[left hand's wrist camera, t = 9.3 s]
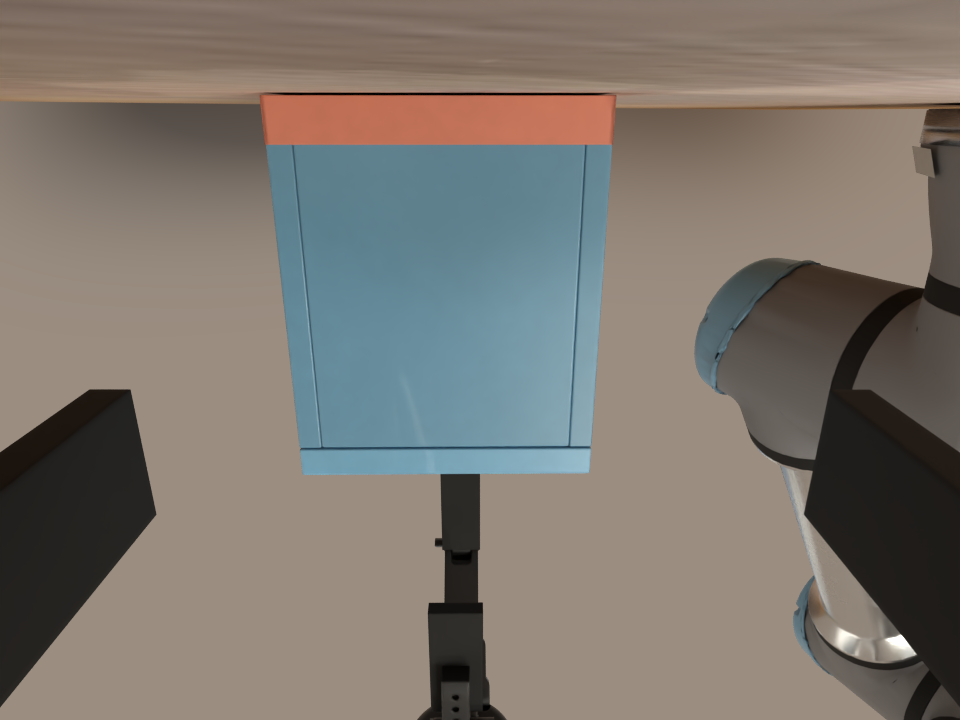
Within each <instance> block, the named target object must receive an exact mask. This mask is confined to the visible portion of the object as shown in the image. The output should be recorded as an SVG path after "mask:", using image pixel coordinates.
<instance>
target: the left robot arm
mask: <svg viewBox="0 0 960 720" xmlns="http://www.w3.org/2000/svg"><path fill="white" fill-rule="evenodd" d="M155 516H156V511H155V506H154V501H153V496H152V491H151V486H150V481H149V477H148V472H147V467H146V462H145V457H144V452H143V448H142V443H141V438H140V433H139V428H138V424H137V419H136V414H135V409H134V404H133V400H132V395H131V390H88V391H87V392H85V393H84V394H83V395H81V396H80V397H78V398H77V399H75V400H74V401H73V402H71V403H70V404H68V405H67V406H65V407H64V408H63V409H61V410H60V411H58V412H57V413H56V414H54V415H53V416H51V417H50V418H48V419H47V420H46V421H44V422H43V423H41V424H40V425H38V426H37V427H36V428H34V429H33V430H31V431H30V432H29V433H27V434H26V435H24V436H23V437H21V438H20V439H19V440H17V441H16V442H14V443H13V444H11V445H10V446H9V447H7V448H6V449H4V450H3V451H2V452H0V707H1V706H2V704H3V703H4V702H5V701H6V700H7V698H8V697H9V696H10V695H11V693H12V692H13V691H14V690H15V688H16V687H17V686H18V685H19V683H20V682H21V681H22V680H23V678H24V677H25V676H26V675H27V674H28V672H29V671H30V670H31V669H32V667H33V666H34V665H35V664H36V662H37V661H38V660H39V659H40V658H41V656H42V655H43V654H44V653H45V651H46V650H47V649H48V648H49V646H50V645H51V644H52V643H53V641H54V640H55V639H56V638H57V636H58V635H59V634H60V633H61V632H62V630H63V629H64V628H65V627H66V625H67V624H68V623H69V622H70V620H71V619H72V618H73V617H74V615H75V614H76V613H77V612H78V611H79V609H80V608H81V607H82V606H83V604H84V603H85V602H86V601H87V599H88V598H89V597H90V596H91V595H92V593H93V592H94V591H95V590H96V588H97V587H98V586H99V585H100V583H101V582H102V581H103V580H104V578H105V577H106V576H107V575H108V574H109V572H110V571H111V570H112V569H113V567H114V566H115V565H116V564H117V562H118V561H119V560H120V559H121V557H122V556H123V555H124V554H125V553H126V551H127V550H128V549H129V548H130V546H131V545H132V544H133V543H134V542H135V540H136V539H137V538H138V537H139V535H140V534H141V533H142V532H143V530H144V529H145V528H146V527H147V525H148V524H149V523H150V522H151V520H152V519H153V518H154V517H155ZM804 516H805V517H806V518H807V519H808V521H809V522H810V523H811V524H812V525H813V527H814V528H815V529H816V530H817V532H818V533H819V534H820V535H821V537H822V538H823V539H824V540H825V542H826V543H827V544H828V545H829V546H830V548H831V549H832V550H833V551H834V553H835V554H836V555H837V556H838V558H839V559H840V560H841V561H842V562H843V564H844V565H845V566H846V567H847V569H848V570H849V571H850V572H851V574H852V575H853V576H854V577H855V579H856V580H857V581H858V582H859V583H860V585H861V586H862V587H863V588H864V590H865V591H866V592H867V593H868V595H869V596H870V597H871V598H872V600H873V601H874V602H875V603H876V604H877V606H878V607H879V608H880V609H881V611H882V612H883V613H884V614H885V616H886V617H887V618H888V619H889V621H890V622H891V623H892V624H893V625H894V627H895V628H896V629H897V630H898V632H899V633H900V634H901V635H902V637H903V638H904V639H905V640H906V641H907V643H908V644H909V645H910V646H911V648H912V649H913V650H914V651H915V653H916V654H917V655H918V656H919V658H920V659H921V660H922V661H923V662H924V664H925V665H926V666H927V667H928V669H929V670H930V671H931V672H932V674H933V675H934V676H935V677H936V679H937V680H938V681H939V682H940V683H941V685H942V686H943V687H944V688H945V690H946V691H947V692H948V693H949V695H950V696H951V697H952V698H953V700H954V701H955V702H956V703H957V704H958V706H959V707H960V452H959V451H957V450H956V449H954V448H953V447H951V446H950V445H949V444H947V443H946V442H944V441H943V440H941V439H940V438H939V437H937V436H936V435H934V434H933V433H931V432H930V431H929V430H927V429H926V428H924V427H923V426H922V425H920V424H919V423H917V422H916V421H914V420H913V419H912V418H910V417H909V416H907V415H906V414H904V413H903V412H902V411H900V410H899V409H897V408H896V407H895V406H893V405H892V404H890V403H889V402H887V401H886V400H885V399H883V398H882V397H880V396H879V395H877V394H876V393H875V392H873V391H872V390H829V395H828V400H827V404H826V409H825V414H824V419H823V424H822V428H821V433H820V438H819V443H818V448H817V452H816V457H815V462H814V467H813V472H812V477H811V481H810V486H809V491H808V496H807V501H806V505H805V510H804Z"/></svg>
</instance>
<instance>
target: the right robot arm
mask: <svg viewBox="0 0 960 720" xmlns="http://www.w3.org/2000/svg"><path fill="white" fill-rule="evenodd" d="M920 143H921V147H915V146H912V148H913V154H914V161H915V168H916V172H917V173H920V174H923V175H926V176H928V199H929V216H930V228H931V238H932V259H931V264H930V269H929V273H928V277H927V281H926V285H925V289H923V288H918V287H914V286H909V285H905V284H900V283H895V282H891V281H886V280H882V279H878V278H874V277H869V276H865V275H861V274H857V273H852V272H848V271H844V270H840V269H836V268H831V267H827V266H823V265H821V264H820V263H816V262H814V261H811V260H807V261H797V260H790V259H783V258H768V259H763V260H760V261H757V262H754V263H752V264H750V265H748V266H746V267H744V268H743V269H741V270H740V271H738V272H737V273H736V274H735V275H733V276H732V277H731V278H730V279H729V280H728V281H727V282H726V283H725V284H724V285H723V286H722V287H721V288H720V290H719V291H718V292H717V294H716V295H715V296H714V298H713V299H712V301H711V302H710V304H709V306H708V307H707V310H706V314H705V316H704V318H703V320H702V322H701V323H700V325H699V328H698V332H697V336H696V341H695V363H696V367H697V370H698V372H699V375H700V376H701V378H702V379H703V380H704V381H705V382H706V383H707V384H708V385H710V386H711V387H712V388H713V389H714V390H715V391H716V392H717V393H720V394H724V395H729V396H731V397H732V398H734V399H735V400H736V402H737V403H738V404H739V406H740V408H741V411H742V414H743V417H744V420H745V423H746V426H747V429H748V432H749V434H750V437H751V439H752V441H753V443H754V444H755V446H756V447H757V449H758V450H759V451H760V452H761V453H762V454H763V455H764V456H765V457H767V458H768V459H770V460H771V461H773V462H774V463H776V464H778V465H780V467H781V470H782V473H783V477H784V480H785V483H786V486H787V490H788V493H789V496H790V499H791V502H792V505H793V509H794V512H795V515H796V518H797V522H798V525H799V528H800V531H801V535H802V538H803V541H804V544H805V547H806V550H807V554H808V557H809V560H810V563H811V567H812V570H813V573H814V576H813V577H812V578H811V579H810V580H809V581H808V582H807V584H806V585H805V587H804V588H803V590H802V592H801V593H800V595H799V598H798V600H797V603H796V604H797V605H798V607H799V608H798V610H796V611H795V612H794V617H793V626H794V632H795V636H796V638H797V641H798V642H799V644H800V646H801V647H802V648H803V650H804V651H805V652H806V653H807V654H808V655H809V656H810V657H811V658H812V659H813V661H814V662H815V663H816V664H817V665H818V666H820V667H821V668H822V669H823V670H824V671H825V672H827V673H828V674H830V675H832V676H834V677H835V678H836V679H837V680H839V681H840V682H841V683H842V684H844V685H845V686H846V687H847V688H849V689H850V690H851V691H852V692H853V693H855V694H856V695H857V696H858V697H860V698H861V699H862V700H863V701H865V702H866V703H867V704H868V705H869V706H871V707H872V708H873V709H874V710H876V711H877V712H878V713H879V714H881V715H882V716H883V717H884V718H885V719H887V720H960V707H959V706H958V704H957V703H956V702H955V701H954V700H953V698H952V697H951V696H950V695H949V693H948V692H947V691H946V690H945V688H944V687H943V686H942V685H941V683H940V682H939V681H938V680H937V679H936V677H935V676H934V675H933V674H932V672H931V671H930V670H929V669H928V667H927V666H926V665H925V664H924V662H923V661H922V660H921V659H920V658H919V656H918V655H917V654H916V653H915V651H914V650H913V649H912V648H911V646H910V645H909V644H908V643H907V641H906V640H905V639H904V638H903V637H902V635H901V634H900V633H899V632H898V630H897V629H896V628H895V627H894V625H893V624H892V623H891V622H890V621H889V619H888V618H887V617H886V616H885V614H884V613H883V612H882V611H881V609H880V608H879V607H878V606H877V604H876V603H875V602H874V601H873V600H872V598H871V597H870V596H869V595H868V593H867V592H866V591H865V590H864V588H863V587H862V586H861V585H860V583H859V582H858V581H857V580H856V579H855V577H854V576H853V575H852V574H851V572H850V571H849V570H848V569H847V567H846V566H845V565H844V564H843V562H842V561H841V560H840V559H839V558H838V556H837V555H836V554H835V553H834V551H833V550H832V549H831V548H830V546H829V545H828V544H827V543H826V542H825V540H824V539H823V538H822V537H821V535H820V534H819V533H818V532H817V530H816V529H815V528H814V527H813V525H812V524H811V523H810V522H809V521H808V519H807V518H806V517H805V516H804V510H805V505H806V501H807V496H808V491H809V486H810V481H811V477H812V472H813V467H814V462H815V457H816V452H817V448H818V443H819V438H820V433H821V428H822V424H823V419H824V414H825V409H826V404H827V400H828V395H829V390H872V391H873V392H875V393H876V394H877V395H879V396H880V397H882V398H883V399H885V400H886V401H887V402H889V403H890V404H892V405H893V406H895V407H896V408H897V409H899V410H900V411H902V412H903V413H904V414H906V415H907V416H909V417H910V418H912V419H913V420H914V421H916V422H917V423H919V424H920V425H922V426H923V427H924V428H926V429H927V430H929V431H930V432H931V433H933V434H934V435H936V436H937V437H939V438H940V439H941V440H943V441H944V442H946V443H947V444H949V445H950V446H951V447H953V448H954V449H956V450H957V451H959V452H960V109H929V110H927V112H926V116H925V121H924V125H923V129H922V134H921V138H920ZM441 511H442V538H436V539H435V546H436V547H442V549H443V550H444V551H445V603H429V607H428V629H429V658H430V687H431V707H430V708H429V709H427V710H426V711H425V712H424V713H423V714H422V715H421V716H420V717H419V718H418V719H417V720H506V718H505V717H504V716H503V715H502V714H501V713H500V712H499V711H498V710H497V709H496V708H495V707H493V706H491V705H490V704H489V703H490V700H489V699H490V698H489V680H488V679H487V677H486V660H485V641H484V639H483V603H478V550H480V474H441Z"/></svg>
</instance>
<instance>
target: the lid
mask: <svg viewBox="0 0 960 720" xmlns="http://www.w3.org/2000/svg"><path fill="white" fill-rule="evenodd" d="M300 455H301V465H302V473H303V475H337V474H516V473H589V471H590V457H591V447H590V446H569V445H568V446H487V447H323V446H322V447H320V448H301V449H300Z"/></svg>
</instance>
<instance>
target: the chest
mask: <svg viewBox="0 0 960 720" xmlns="http://www.w3.org/2000/svg"><path fill="white" fill-rule="evenodd" d="M260 103H261V112H262V121H263V130H264V139H265V145H266V148H267V157H268V166H269V175H270V184H271V193H272V202H273V211H274V220H275V229H276V238H277V247H278V256H279V265H280V274H281V283H282V292H283V302H284V311H285V319H286V329H287V337H288V347H289V356H290V365H291V374H292V383H293V391H294V401H295V409H296V418H297V428H298V437H299V446H300V448H320V447H322V446H323V447H487V446H568V445H569V446H591V443H592V428H593V414H594V399H595V384H596V370H597V356H598V341H599V326H600V312H601V298H602V284H603V269H604V255H605V240H606V226H607V211H608V197H609V182H610V168H611V153H612V145H613V135H614V120H615V106H616V95H260Z"/></svg>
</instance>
